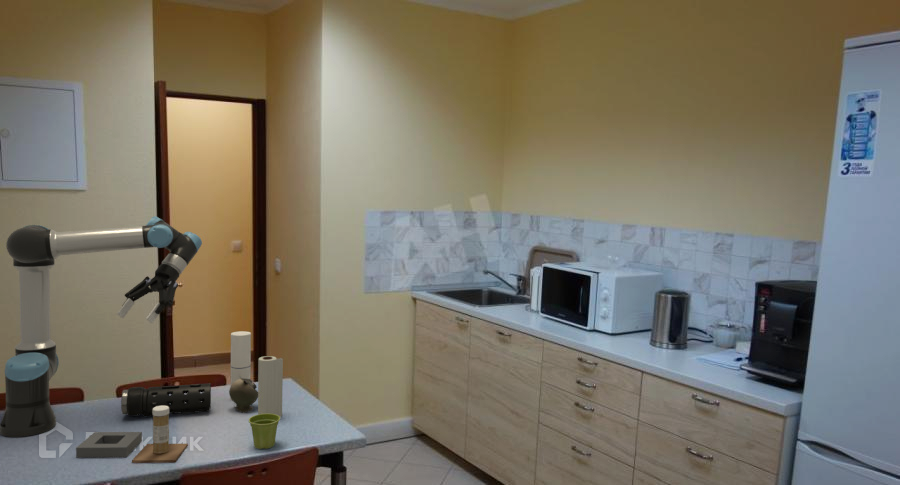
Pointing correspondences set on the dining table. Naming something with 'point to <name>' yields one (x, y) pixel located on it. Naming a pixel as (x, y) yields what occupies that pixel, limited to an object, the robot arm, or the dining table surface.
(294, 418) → the dining table surface
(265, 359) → the paper towel roll
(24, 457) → the dining table surface
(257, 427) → the plant pot
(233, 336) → the cylindrical container
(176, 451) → the pad
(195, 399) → the muzzle brake
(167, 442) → the sprinkles bottle
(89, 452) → the frame
